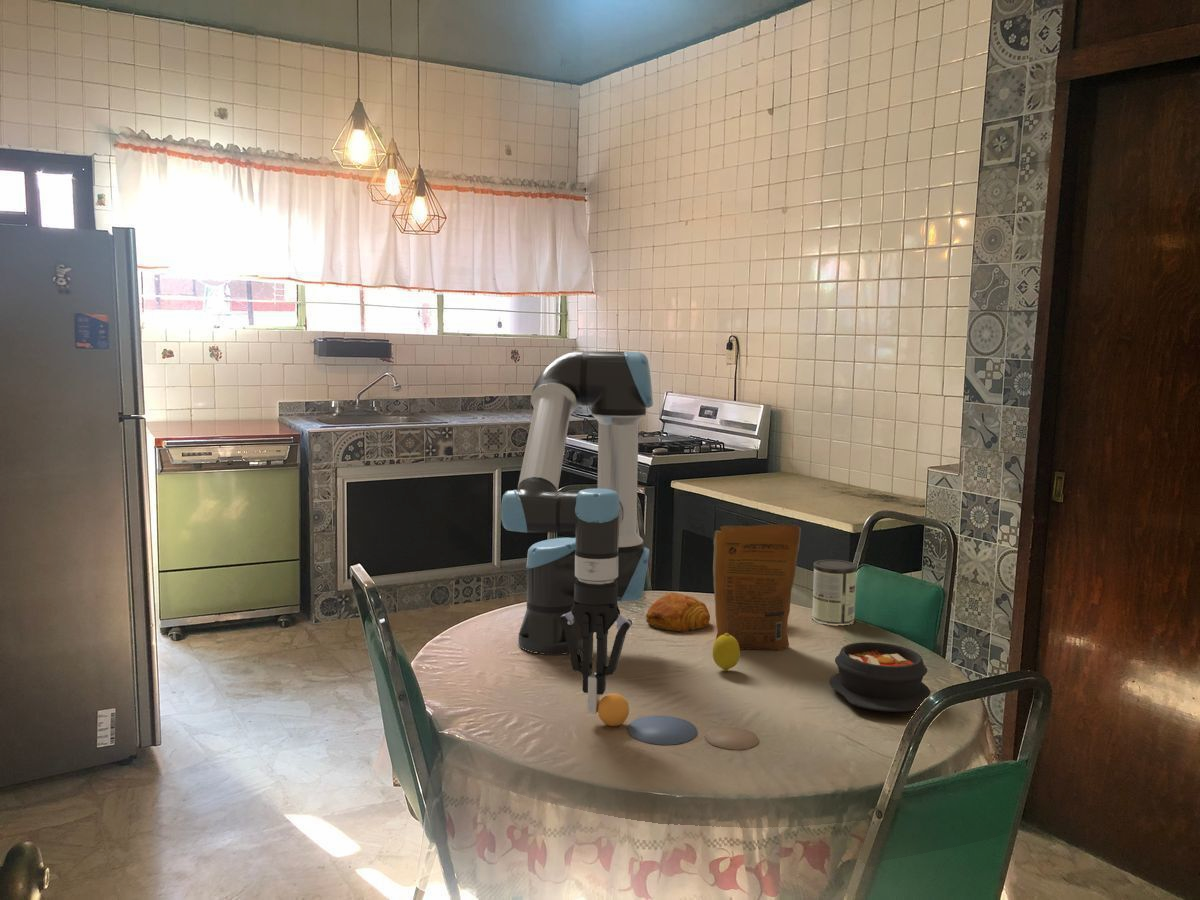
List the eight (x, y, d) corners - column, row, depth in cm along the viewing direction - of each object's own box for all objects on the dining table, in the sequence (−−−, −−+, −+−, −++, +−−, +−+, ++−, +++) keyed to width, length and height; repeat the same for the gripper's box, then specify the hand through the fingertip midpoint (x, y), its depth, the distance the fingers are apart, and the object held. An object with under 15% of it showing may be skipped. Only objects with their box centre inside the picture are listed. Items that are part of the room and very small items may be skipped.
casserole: (937, 726, 164) (940, 681, 163) (829, 715, 169) (831, 670, 168) (923, 678, 189) (925, 638, 188) (828, 669, 193) (830, 630, 192)
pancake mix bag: (798, 653, 202) (803, 527, 199) (710, 651, 203) (714, 524, 200) (793, 644, 209) (798, 521, 206) (708, 641, 210) (712, 519, 207)
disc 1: (620, 740, 156) (620, 738, 156) (635, 713, 168) (635, 712, 168) (691, 748, 153) (691, 747, 153) (701, 720, 165) (701, 719, 165)
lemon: (738, 676, 188) (739, 638, 187) (710, 674, 189) (712, 636, 188) (739, 667, 193) (741, 630, 192) (713, 665, 194) (714, 628, 193)
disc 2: (701, 746, 155) (701, 744, 155) (709, 725, 163) (709, 723, 163) (756, 752, 152) (756, 751, 152) (760, 731, 161) (760, 730, 161)
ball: (592, 699, 160) (623, 701, 159) (602, 687, 165) (631, 689, 164) (594, 730, 161) (625, 732, 159) (603, 717, 166) (633, 719, 164)
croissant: (673, 620, 234) (671, 588, 234) (720, 626, 222) (718, 592, 222) (632, 629, 224) (630, 596, 224) (679, 636, 213) (677, 601, 213)
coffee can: (813, 612, 234) (815, 557, 233) (855, 617, 231) (858, 561, 230) (808, 623, 225) (811, 566, 223) (852, 628, 221) (855, 570, 220)
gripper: (553, 580, 159) (551, 714, 161) (627, 587, 155) (624, 723, 158) (566, 571, 166) (564, 699, 168) (637, 577, 162) (634, 707, 165)
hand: (593, 710), depth 163 cm, fingers closed
